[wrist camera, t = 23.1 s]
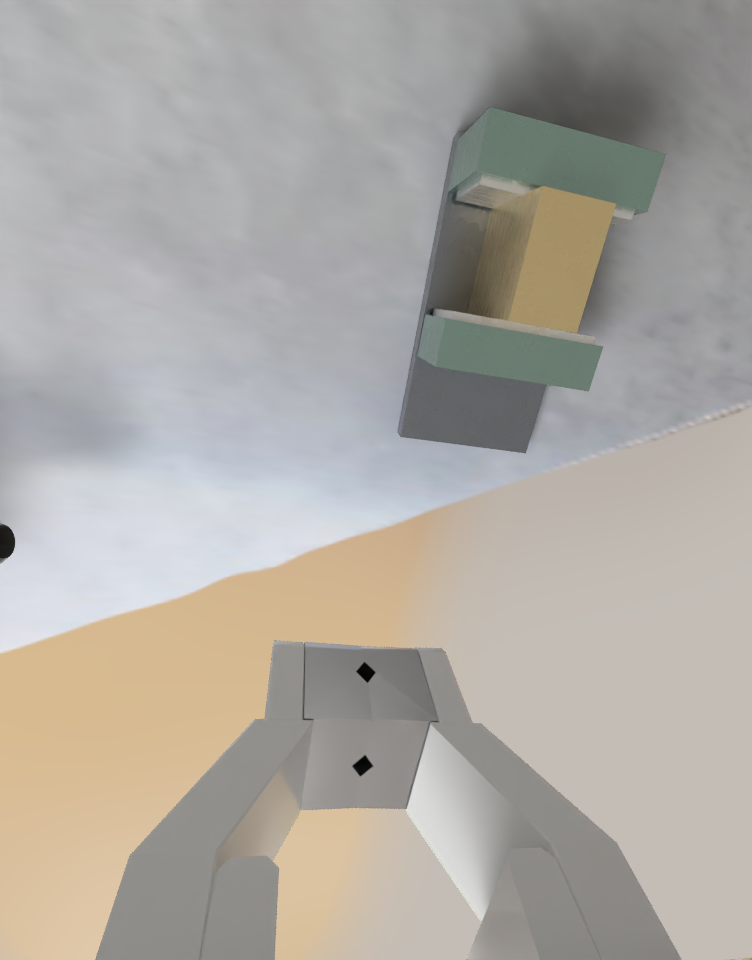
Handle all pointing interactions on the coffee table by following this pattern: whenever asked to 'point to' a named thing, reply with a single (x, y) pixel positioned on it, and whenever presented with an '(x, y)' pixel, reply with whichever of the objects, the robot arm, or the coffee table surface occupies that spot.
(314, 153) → the coffee table surface
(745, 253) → the coffee table surface
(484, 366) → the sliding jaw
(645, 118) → the coffee table surface
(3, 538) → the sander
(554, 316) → the brass block
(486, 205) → the vise
